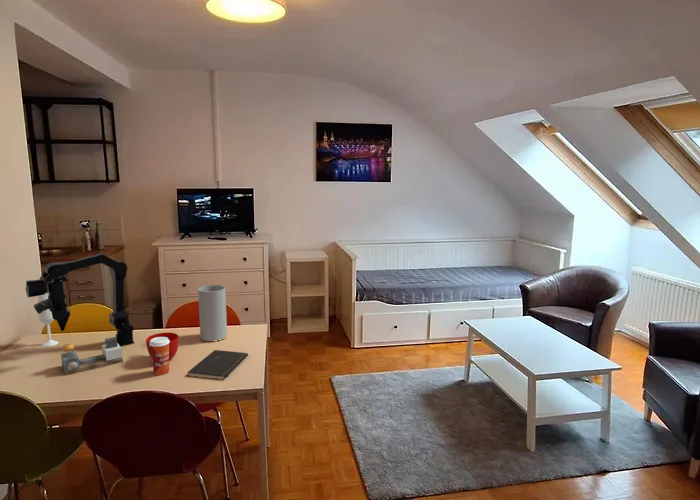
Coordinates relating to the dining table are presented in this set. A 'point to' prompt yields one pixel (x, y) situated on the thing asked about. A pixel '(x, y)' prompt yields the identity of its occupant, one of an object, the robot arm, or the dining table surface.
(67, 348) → the button
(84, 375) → the dining table surface
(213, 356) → the hardcover book
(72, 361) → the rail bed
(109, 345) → the carriage
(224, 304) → the cylinder vase
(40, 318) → the champagne flute
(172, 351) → the ceramic cup
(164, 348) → the paper cup
